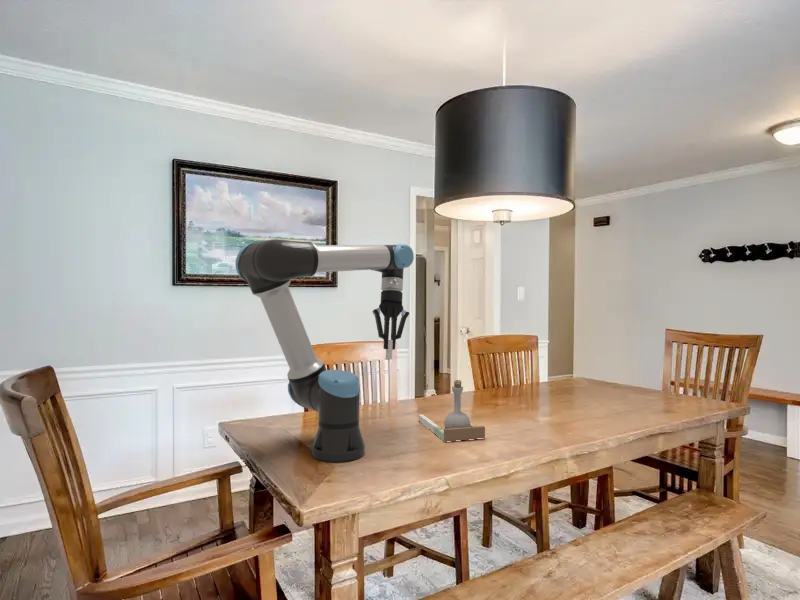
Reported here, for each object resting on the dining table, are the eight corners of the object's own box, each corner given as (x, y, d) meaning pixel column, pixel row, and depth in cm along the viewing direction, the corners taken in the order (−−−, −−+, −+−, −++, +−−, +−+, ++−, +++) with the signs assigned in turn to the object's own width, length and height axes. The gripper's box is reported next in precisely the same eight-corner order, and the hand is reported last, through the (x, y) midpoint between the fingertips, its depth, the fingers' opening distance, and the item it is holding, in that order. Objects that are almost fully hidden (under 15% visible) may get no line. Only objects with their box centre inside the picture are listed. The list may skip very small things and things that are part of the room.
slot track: (485, 439, 155) (485, 426, 155) (444, 442, 151) (444, 429, 151) (453, 418, 180) (454, 408, 180) (418, 421, 176) (418, 410, 176)
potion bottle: (471, 432, 163) (472, 379, 162) (468, 440, 154) (469, 383, 154) (446, 430, 165) (446, 377, 165) (441, 437, 156) (442, 382, 156)
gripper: (376, 287, 163) (372, 357, 159) (412, 291, 167) (410, 359, 163) (371, 291, 170) (367, 358, 166) (406, 294, 174) (403, 360, 170)
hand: (388, 359), depth 165 cm, fingers closed
